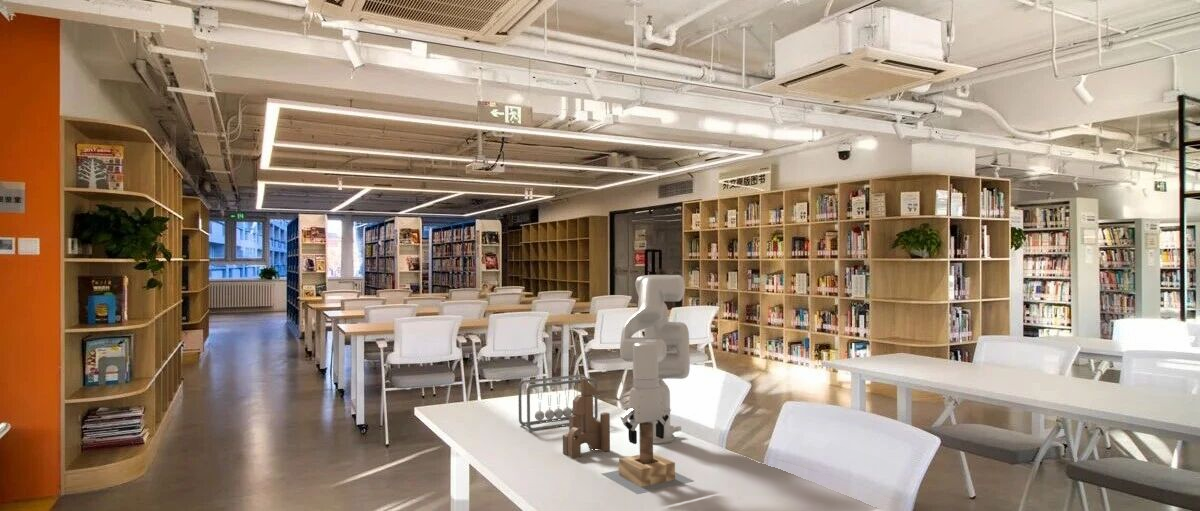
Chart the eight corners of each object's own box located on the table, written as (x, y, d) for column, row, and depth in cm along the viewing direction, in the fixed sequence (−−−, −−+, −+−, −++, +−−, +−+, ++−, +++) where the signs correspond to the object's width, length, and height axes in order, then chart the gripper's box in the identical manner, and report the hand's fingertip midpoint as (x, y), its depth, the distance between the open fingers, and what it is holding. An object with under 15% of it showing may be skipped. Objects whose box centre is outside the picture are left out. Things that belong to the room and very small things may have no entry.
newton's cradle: (527, 431, 253) (527, 385, 253) (518, 425, 263) (517, 380, 263) (598, 422, 267) (597, 377, 267) (586, 416, 276) (586, 373, 276)
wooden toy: (571, 458, 220) (570, 382, 219) (562, 453, 225) (561, 379, 225) (611, 451, 227) (611, 378, 227) (601, 446, 233) (601, 375, 233)
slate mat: (655, 464, 212) (655, 462, 212) (694, 482, 195) (694, 480, 195) (601, 475, 202) (601, 473, 202) (637, 495, 185) (637, 493, 185)
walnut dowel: (648, 474, 201) (647, 421, 201) (656, 478, 198) (655, 424, 198) (637, 476, 199) (636, 423, 199) (644, 480, 196) (644, 426, 196)
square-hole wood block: (651, 468, 207) (651, 452, 207) (675, 479, 197) (674, 462, 197) (619, 475, 201) (618, 458, 201) (641, 487, 191) (641, 469, 191)
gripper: (662, 377, 206) (662, 432, 207) (614, 384, 198) (615, 441, 198) (676, 382, 200) (677, 438, 200) (628, 389, 191) (629, 448, 192)
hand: (646, 440), depth 199 cm, fingers open, 9 cm apart
